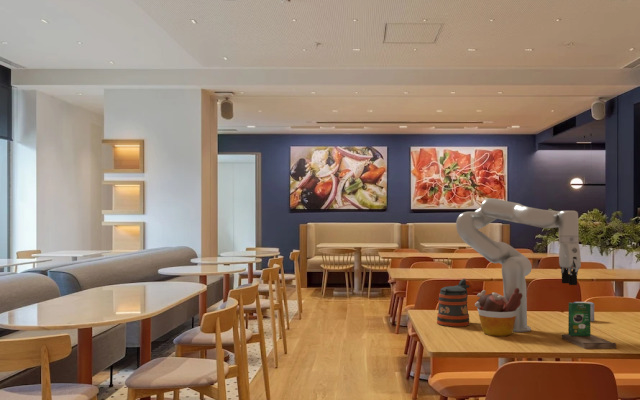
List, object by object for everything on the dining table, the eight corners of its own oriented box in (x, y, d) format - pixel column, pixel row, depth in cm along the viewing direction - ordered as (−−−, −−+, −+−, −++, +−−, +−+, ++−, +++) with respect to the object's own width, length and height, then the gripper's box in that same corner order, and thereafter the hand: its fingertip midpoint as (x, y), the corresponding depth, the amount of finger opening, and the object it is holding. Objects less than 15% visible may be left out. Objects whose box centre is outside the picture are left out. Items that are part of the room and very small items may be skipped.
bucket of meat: (466, 333, 236) (466, 286, 237) (486, 328, 248) (485, 283, 248) (511, 340, 222) (511, 290, 223) (530, 334, 233) (529, 286, 234)
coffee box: (587, 334, 225) (587, 302, 225) (591, 336, 222) (590, 303, 222) (568, 335, 224) (567, 302, 225) (571, 336, 221) (571, 303, 222)
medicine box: (591, 320, 267) (590, 301, 268) (594, 321, 263) (594, 303, 263) (573, 319, 268) (573, 301, 269) (577, 321, 264) (576, 303, 264)
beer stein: (450, 318, 271) (450, 277, 272) (479, 322, 262) (478, 279, 263) (431, 324, 257) (430, 280, 258) (460, 328, 247) (460, 283, 248)
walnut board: (584, 348, 208) (584, 343, 208) (561, 338, 226) (561, 333, 226) (616, 348, 208) (615, 343, 208) (590, 338, 226) (590, 333, 226)
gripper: (588, 241, 224) (588, 286, 223) (567, 239, 241) (568, 281, 240) (569, 241, 224) (570, 286, 223) (550, 239, 241) (551, 281, 240)
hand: (569, 283), depth 232 cm, fingers open, 5 cm apart
